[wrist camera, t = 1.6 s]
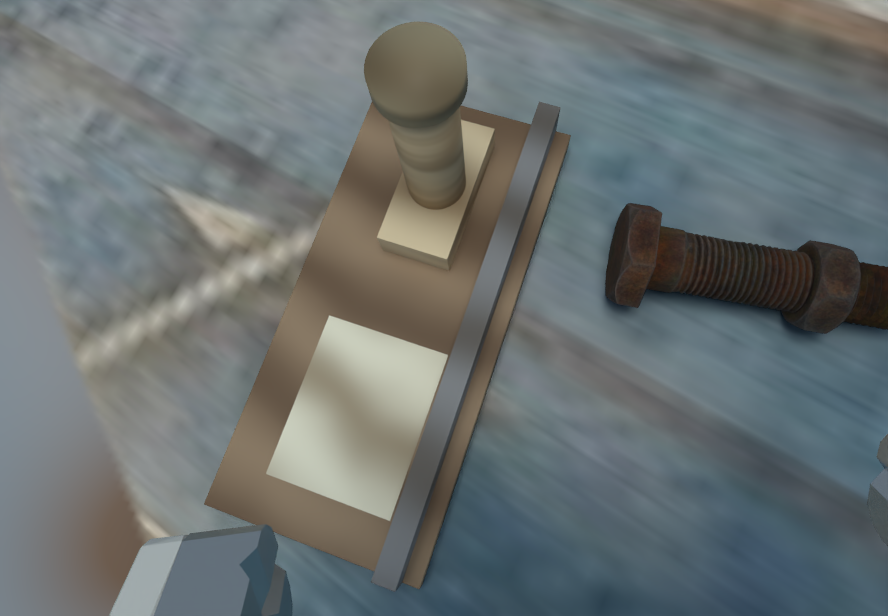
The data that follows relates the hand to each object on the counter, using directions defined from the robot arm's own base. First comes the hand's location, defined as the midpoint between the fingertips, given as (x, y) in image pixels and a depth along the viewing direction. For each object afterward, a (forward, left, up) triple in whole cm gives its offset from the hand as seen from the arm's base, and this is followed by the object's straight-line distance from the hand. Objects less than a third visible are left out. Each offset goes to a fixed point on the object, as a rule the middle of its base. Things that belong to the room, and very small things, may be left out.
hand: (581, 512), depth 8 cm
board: (-7, -9, -26) cm, 28 cm away
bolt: (-14, +9, -26) cm, 31 cm away
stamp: (-14, -9, -24) cm, 29 cm away
